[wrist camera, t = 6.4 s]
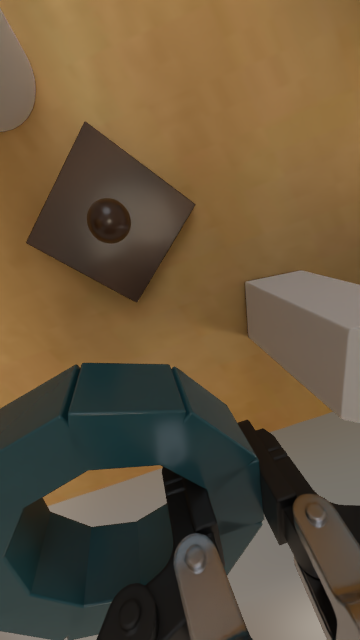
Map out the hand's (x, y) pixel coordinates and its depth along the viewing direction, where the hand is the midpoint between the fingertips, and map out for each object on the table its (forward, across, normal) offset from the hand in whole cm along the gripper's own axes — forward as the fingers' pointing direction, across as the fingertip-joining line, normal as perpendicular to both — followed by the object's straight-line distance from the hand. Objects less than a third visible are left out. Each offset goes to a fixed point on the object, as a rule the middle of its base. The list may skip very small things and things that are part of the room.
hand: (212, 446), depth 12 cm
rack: (+19, +2, -10) cm, 21 cm away
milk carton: (+19, -14, +2) cm, 24 cm away
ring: (0, +4, 0) cm, 4 cm away
